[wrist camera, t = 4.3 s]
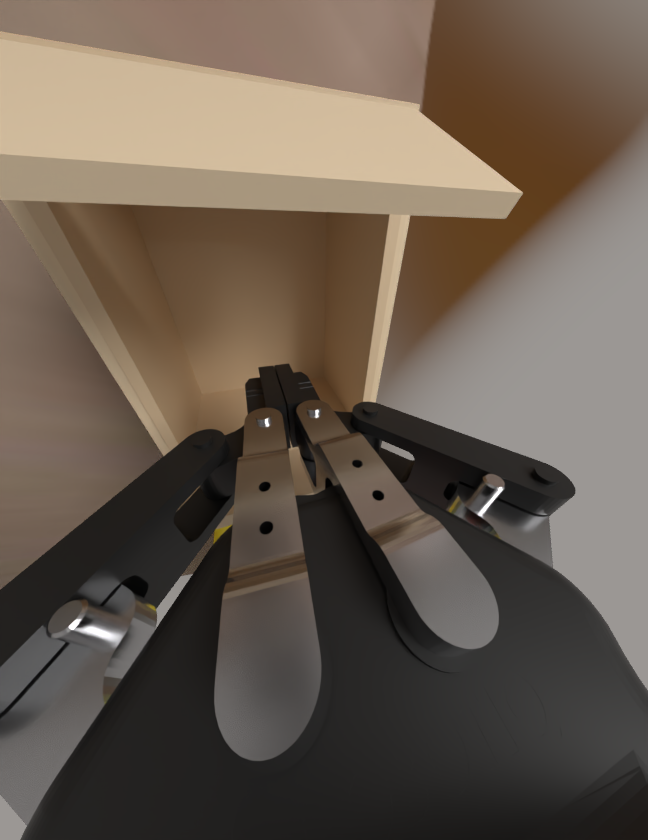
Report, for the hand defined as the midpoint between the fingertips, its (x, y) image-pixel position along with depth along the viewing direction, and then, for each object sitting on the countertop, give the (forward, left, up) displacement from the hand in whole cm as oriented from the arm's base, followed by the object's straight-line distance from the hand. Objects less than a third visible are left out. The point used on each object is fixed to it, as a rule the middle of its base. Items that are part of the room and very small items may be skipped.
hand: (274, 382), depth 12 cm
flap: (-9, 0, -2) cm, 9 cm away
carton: (-1, 0, -12) cm, 12 cm away
